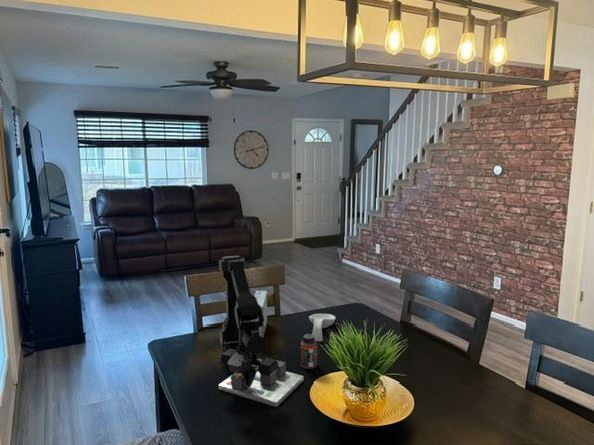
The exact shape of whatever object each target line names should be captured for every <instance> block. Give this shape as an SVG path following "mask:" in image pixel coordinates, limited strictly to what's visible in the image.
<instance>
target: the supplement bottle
mask: <svg viewBox="0 0 594 445" xmlns="http://www.w3.org/2000/svg"><path fill="white" fill-rule="evenodd" d="M300 366H301V367H302V368H303V369H306V370H311V369H314V368H316V367H317V366H318V341H315V337H314V335H312V333H306V334H304V335H303V340H302V341H301V342H300Z"/></svg>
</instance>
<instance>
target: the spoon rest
mask: <svg viewBox="0 0 594 445" xmlns="http://www.w3.org/2000/svg"><path fill="white" fill-rule="evenodd" d="M308 319H309V321H310V323H312V325H313V327H312V333H311V334H312V335H314V337H315V341H316V342H323V341H324V339H323V338H324V336H323V330H322V329H327V328H329V327H330V326H332V325H333V324H334V323H335V320H336V316H335V315H333V314H330V313H314V314H311V315H310V316H308Z"/></svg>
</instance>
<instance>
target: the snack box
mask: <svg viewBox="0 0 594 445" xmlns="http://www.w3.org/2000/svg"><path fill="white" fill-rule="evenodd" d="M254 296H255V297H256V299H257V302H258V304H259V305H260V307H261V308H262V313H263V317H264V322H263V325H264V326H263V327H259V332H260V334H261V335H262V336H263V338H264V336H265V332H266V328H267V324H268V290H255V293H254ZM252 321H259V318H258V319H257V320H252Z"/></svg>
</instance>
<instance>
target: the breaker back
mask: <svg viewBox="0 0 594 445" xmlns="http://www.w3.org/2000/svg"><path fill="white" fill-rule="evenodd" d="M275 360H276V359H275ZM276 361H277V362H278V369H277V370H276V375H277V376H280V377H281V376H282V375H283V374H284V373H285V372H287V366H286V362H285V361H282V360H276Z"/></svg>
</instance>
